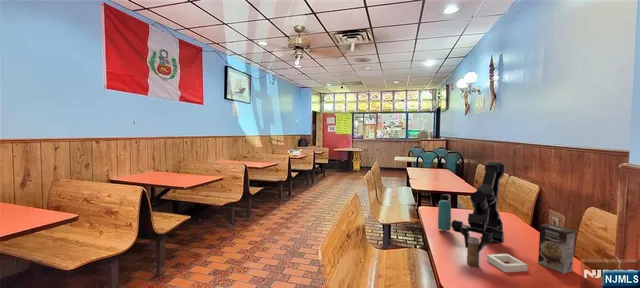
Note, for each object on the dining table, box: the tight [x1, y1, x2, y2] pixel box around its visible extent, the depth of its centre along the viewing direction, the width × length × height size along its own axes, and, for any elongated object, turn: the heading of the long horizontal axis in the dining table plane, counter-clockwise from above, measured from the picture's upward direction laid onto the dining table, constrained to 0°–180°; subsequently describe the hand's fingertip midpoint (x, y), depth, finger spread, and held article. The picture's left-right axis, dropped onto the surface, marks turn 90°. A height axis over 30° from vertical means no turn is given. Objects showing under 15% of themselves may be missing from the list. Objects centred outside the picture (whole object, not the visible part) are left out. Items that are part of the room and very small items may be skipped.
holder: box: [486, 253, 528, 273], centre depth 109 cm, size 10×10×2 cm
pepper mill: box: [466, 236, 480, 268], centre depth 109 cm, size 4×4×10 cm
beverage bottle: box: [437, 193, 452, 232], centre depth 145 cm, size 6×7×20 cm
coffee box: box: [537, 223, 576, 274], centre depth 107 cm, size 9×6×16 cm
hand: (472, 249), depth 108 cm, fingers closed on pepper mill, 4 cm apart
